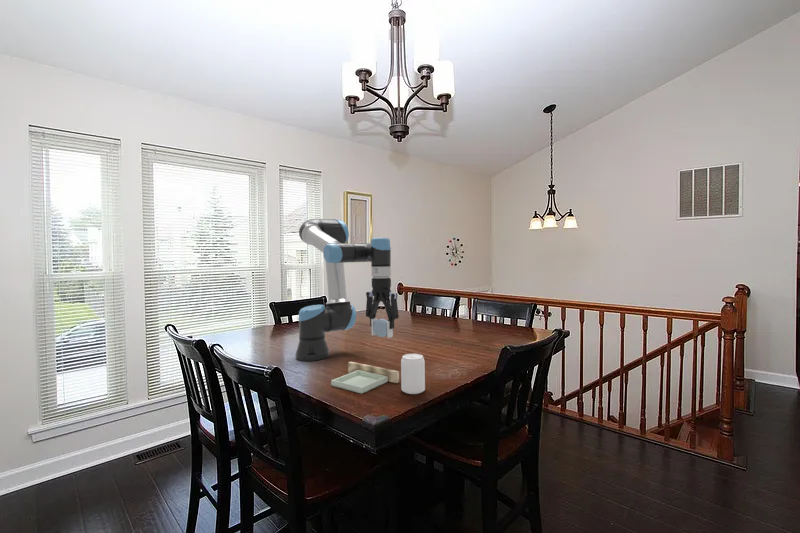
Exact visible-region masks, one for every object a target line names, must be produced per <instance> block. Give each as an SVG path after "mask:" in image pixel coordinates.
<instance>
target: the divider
mask: <svg viewBox="0 0 800 533" xmlns="http://www.w3.org/2000/svg"><path fill="white" fill-rule="evenodd" d="M357 370H361V371H365V372H370V373H374V374H379V375H383V376H388V382H390V383H394V384H398V383H400V370H399V371H398V370H395V369H390V368H385V367H380V366H374V365H370V364H366V363H365V364H364V363H359V362H355V361H351V360H350V361H348V362H347V373H348V374H349V373H351V372H354V371H357Z"/></svg>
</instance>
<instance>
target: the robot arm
mask: <svg viewBox="0 0 800 533" xmlns="http://www.w3.org/2000/svg"><path fill="white" fill-rule="evenodd" d="M349 233H350V232H349V227H348V225H347V223H346V222H345V221H344V220H342V219H335V218H334V219H331V218H329V219H327V218H311V219H308V220H305V221H304V222H303V223H302V224H301V225H300V227H299V230H298V236H299V238H300V239H301V241H302V242H303V243H305V244H306V245H311V246H313V247H314V248H315V249H317V250H318V251H320V252H321V253H323V258H324V261H325V270H326V271H325V272H326V281H327V292H328V293H327V294H328V295H327V296H328V300H327V301H326V303H325V305H324V304H312V305H307V306H304V307H302V308H300V310H299V311H298V320H297V321H298V338H299V339H298V344H297V350H296V351H295V359H296V360H298V361H303V362H304V361H305V362H306V361H307V362H309V361H310V362H314V361H319V360H325V359H327V358H329V357H330V350H329V346H328V344H327V340H326V333H331V332H338V331H339V332H340V331H346V330H350V329H352V328H353V327H354V325H355V323H356V320H357V312H356V309H355V306H354V305H353V304H351V301H350V300H349V299H348V298H347V289H346V288H347V287H346V277H345V265H344V264H345V263H371V264H370V265H371V268H370V269H371V277H372V278H371V288H372V290H371V291H366V292H365V297H366V304H365V305H366V307H365V317H367V318H369V325H370V327H371V336H377V335H376V334H375V333H374V331H373V325H374V323H375V322H376V321H377V320H378V318H377V313H378V309H379V305H380V303H381V302H382V304H383V306H384V308H385V313H386V316H387V318H388V319H387V337H386V338H388V339H390V338H393V337H394V330H393V329H394V328H395V321H396V320H398V319H399V309H398V293H397V292H392V290H391V287H392V279H391V277H392V276H391V275H392V269H391V262H392V261H391V258H392V257H391V254H392V253H391V251H392V250H391V249H392V248H391V240H390V238H388V237H372V238H371V239H370V243H347V242H348V241H349V237H350V234H349Z"/></svg>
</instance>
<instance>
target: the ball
mask: <svg viewBox="0 0 800 533" xmlns="http://www.w3.org/2000/svg"><path fill="white" fill-rule="evenodd" d="M387 321H388V319H385V318H379V319H377V321H376V322H375V323H374V325H373V331H374V333H375V334H376V335H375V336H377V337H378V338H379V337H380V338H385V337H386V336H387Z"/></svg>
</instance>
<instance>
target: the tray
mask: <svg viewBox="0 0 800 533" xmlns="http://www.w3.org/2000/svg"><path fill="white" fill-rule="evenodd" d="M388 382H389V381H388V376H383V375H379V374H374V373H370V372H365V371H361V370H357V371H354V372H351V373H349V372H348V373H346V374H344V375H342V376H339V377H337V378H334V379H333V378H332V379H331V381H330V386H331V387H334V388H339V389H343V390H345V391H350V392H354V393H357V394H361V395H362V394H363V395H364V393H367V392H369V391H370V390H373V389H375V388H378V387H380V386H381V385H384V384H385V383H388Z"/></svg>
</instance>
